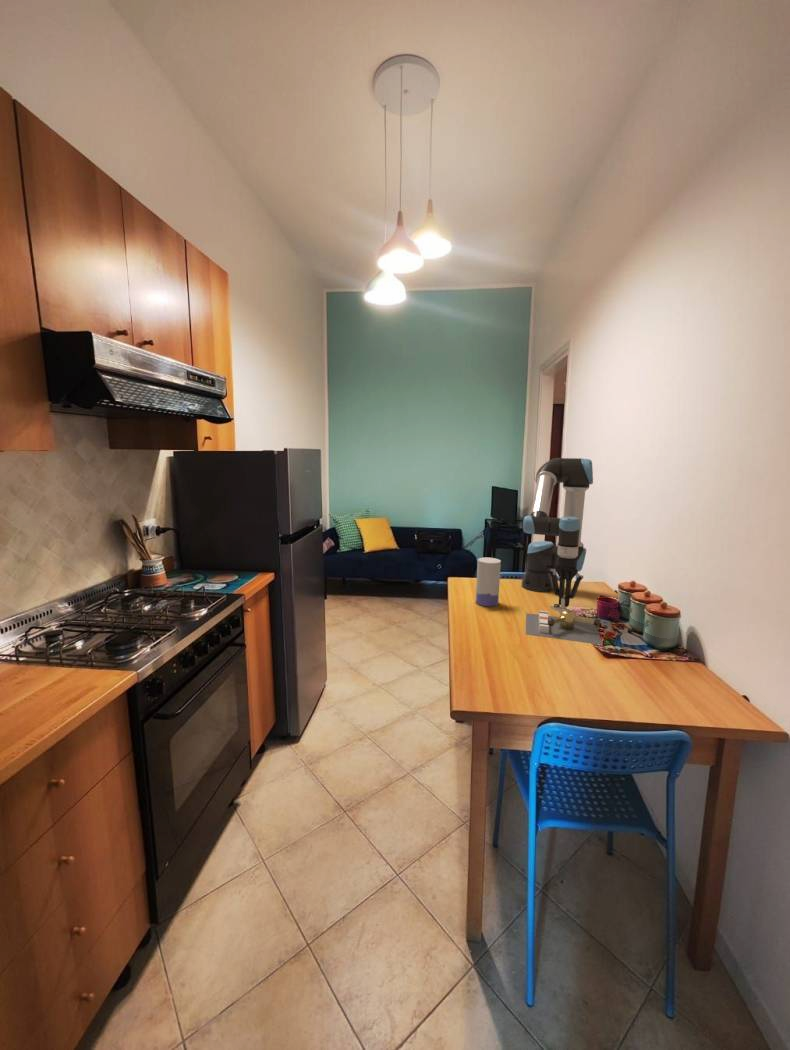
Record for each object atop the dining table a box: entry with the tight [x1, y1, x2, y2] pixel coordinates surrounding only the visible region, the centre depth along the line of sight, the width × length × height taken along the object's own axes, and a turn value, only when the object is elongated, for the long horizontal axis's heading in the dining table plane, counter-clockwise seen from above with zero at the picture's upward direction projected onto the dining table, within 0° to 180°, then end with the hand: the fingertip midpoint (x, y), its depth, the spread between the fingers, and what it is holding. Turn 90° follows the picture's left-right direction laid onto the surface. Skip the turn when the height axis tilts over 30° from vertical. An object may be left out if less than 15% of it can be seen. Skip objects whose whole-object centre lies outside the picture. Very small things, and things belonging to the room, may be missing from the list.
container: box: [475, 556, 502, 608], centre depth 190 cm, size 10×10×20 cm
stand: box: [525, 610, 604, 646], centre depth 163 cm, size 22×26×4 cm
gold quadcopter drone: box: [548, 603, 601, 629], centre depth 162 cm, size 20×18×7 cm
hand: (563, 613), depth 171 cm, fingers closed
